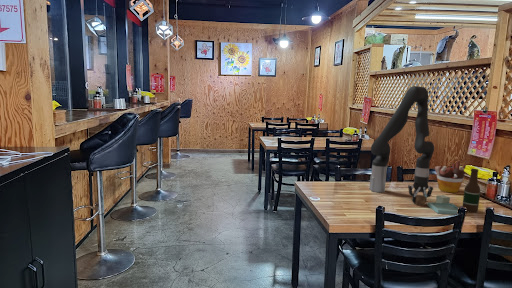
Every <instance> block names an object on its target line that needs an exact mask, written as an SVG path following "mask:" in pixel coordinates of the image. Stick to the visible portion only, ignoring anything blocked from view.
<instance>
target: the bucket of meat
mask: <svg viewBox="0 0 512 288" xmlns="http://www.w3.org/2000/svg"><path fill="white" fill-rule="evenodd" d="M460 163H461V162H460V161H459V160H457V161H456V163H453V164H452V165H451V167H447V166H446V165H443V166H441V165H438V166H435V167H434V170H435V173H436V179H437V185H438V190H439V191H441V192H443V191H444V192H445V193H450V194H451V193H452V194H457V193H458V192H459V191H460V188H461V186H462V184H463V181H464V179H465V175H466V172H465V169H466V167H467V165H466V164H463V165H462V166H461V165H460Z"/></svg>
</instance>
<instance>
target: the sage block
mask: <svg viewBox="0 0 512 288" xmlns="http://www.w3.org/2000/svg"><path fill="white" fill-rule="evenodd" d="M450 201H451V197H450V196H447V195H444V194H439V195H438V194H437V195H436V198H435V203H451V202H450Z"/></svg>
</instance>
